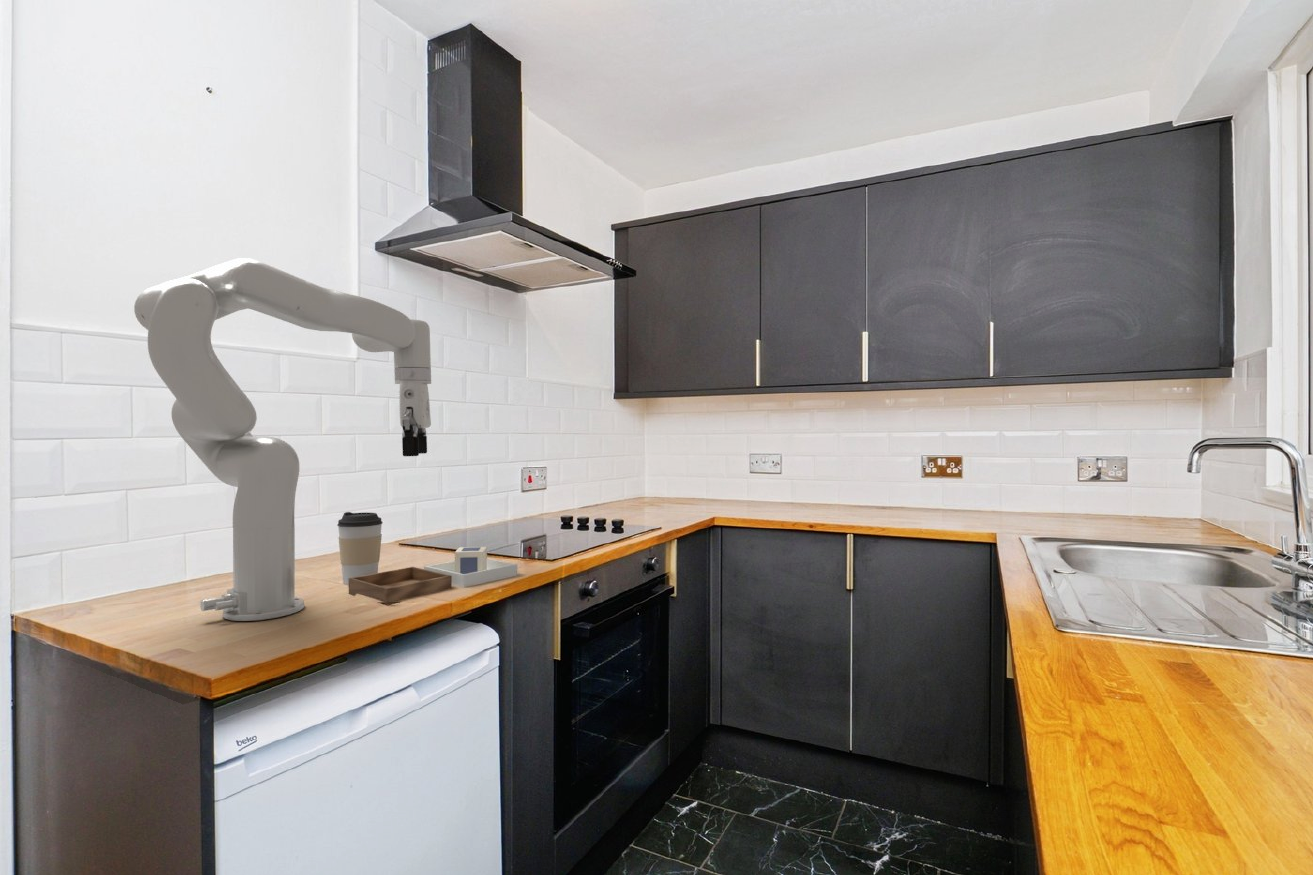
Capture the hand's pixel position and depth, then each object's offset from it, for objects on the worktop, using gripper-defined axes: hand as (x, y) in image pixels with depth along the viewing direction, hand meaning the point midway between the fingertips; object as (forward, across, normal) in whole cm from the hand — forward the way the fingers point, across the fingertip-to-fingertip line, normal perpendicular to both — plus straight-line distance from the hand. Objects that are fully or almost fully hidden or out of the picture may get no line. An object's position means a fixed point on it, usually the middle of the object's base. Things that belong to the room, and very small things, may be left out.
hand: (415, 454), depth 142 cm
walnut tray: (+27, -12, +1) cm, 30 cm away
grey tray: (+28, -2, -11) cm, 30 cm away
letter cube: (+27, -2, -11) cm, 30 cm away
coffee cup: (+28, 0, +12) cm, 30 cm away
